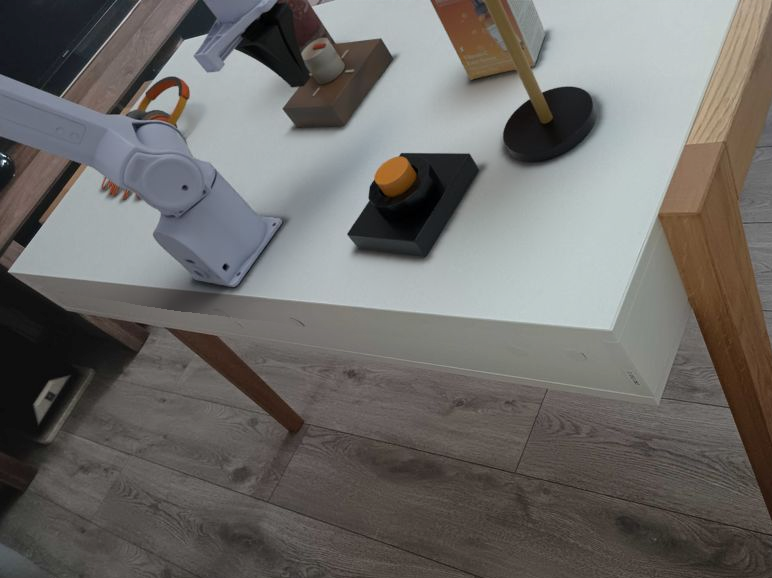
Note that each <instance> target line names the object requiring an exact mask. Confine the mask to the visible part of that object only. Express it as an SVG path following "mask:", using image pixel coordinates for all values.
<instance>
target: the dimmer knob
mask: <svg viewBox="0 0 772 578" xmlns="http://www.w3.org/2000/svg"><path fill="white" fill-rule="evenodd" d="M301 55H302V57H303V60H304V63H305V65H306V67H307V68H308V69H309V71H310V72H311V74H312V75H313V77H314V78H315V79H316V81H317V82H318V83H319V84H326V83H329V82H331V81H332V80H334V79H335V78H337V77H338V76H339V75H340V74H341V73H342V71H343V70H344V67H345V64H344V62H343V61H342V59H341V58H340V56H339V55H338V53H337V52H336V50H335V49H334V47H333V46H332V44H331V43H330V41H329V40H328V39H327V38H320V39H317V40H315V41H313V42H312V43H310V44H309V45H308V46H307V47H306V48H305V49H304V50H303V51H302V53H301Z"/></svg>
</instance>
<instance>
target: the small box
mask: <svg viewBox="0 0 772 578" xmlns="http://www.w3.org/2000/svg"><path fill="white" fill-rule="evenodd" d="M429 1H430V3H431V5H432V7H433V8H434V11H435V13H436V15H437V17H438V19H439V21H440V24H441V25H442V27H443V29H444V31H445V32H446V35H447V37H448V39H449V41H450V43H451V45H452V47H453V49H454V51H455V52H456V55H457V57H458V59H459V61H460V62H461V65H462V66H463V69H464V70H465V72H466V74H467V76H468V79H469V80H471V81H472V80H476V79H479V78H484V77H488V76H491V75H492V76H493V75H496V74H502V73H506V72H510V71H517V70H516V68H515V66H514V64H513V62H512V60H511V57H510V55H509V53H508V51H507V49H506V47H505V45H504V43H503V40H502V38H501V36H500V34H499V32H498V30H497V28H496V26H495V23H494V21H493V19H492V17H491V15H490V13H489V11H488V8H487V6H486V4H485V2H484V0H429ZM500 1H501V3H502V6H503V8H504V10H505V12H506V14H507V17H508V19H509V21H510V23H511V25H512V28H513V30H514V32H515V34H516V37H517V39H518V41H519V43H520V45H521V48H522V50H523V52H524V54H525V56H526V59H527V61H528V63H529V65H530V67H531V68H532V67H535V65H536V63H537V60H538V58H539V57H538V56H539V53H540V50H541V49H542V45H543V42H544V39H545V36H546V30H545V28H544V25H543V23H542V21H541V18H540V15H539V13H538V10H537V8H536V5H535V3H534V1H533V0H500Z"/></svg>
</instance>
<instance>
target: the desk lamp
mask: <svg viewBox="0 0 772 578" xmlns="http://www.w3.org/2000/svg"><path fill="white" fill-rule="evenodd" d="M484 2H485V4H486V6H487V8H488V11H489V13H490V15H491V17H492V19H493V21H494V23H495V26H496V28H497V30H498V32H499V34H500V36H501V38H502V40H503V43H504V45H505V47H506V49H507V51H508V53H509V55H510V57H511V60H512V62H513V64H514V66H515V68H516V70H515V71H516V72H517V74H518V76H519V79H520V81H521V84H522V85H523V87H524V89H525V91H526V94H527V95H528V98H529V99H527V100H526V101H525V102H524V103H522V104H520V106H519V107H517V109H516V110H515V111H513V112H512V114H511V115H510V117H509V118H508V120H507V121H506V123H505V126H504V127H503V132H502V139H503V143H504V145H505V147H506V149H507V150H508V153H509V154H510V155H511V157H513V158H514V159H516V160H517V161H519V162H523V163H531V164H534V163H543V162H547V161H550V160H553V159H556V158H559V157H560V156H563V155H564V154H567V153H568V152H570V151H572V150H573V149H575V148H576V147H577V146H579V144H581V143H582V142H583V141H584V140H585V139H586V137H588V135H589V134H590V133H591V131H592V129H593V128H594V126H595V125H596V120H597V116H598V115H597V114H598V113H597V107H596V105H595V102H594V100H593V97H592V96H591V95H590V93H589V92H588V91H586V90H585V89H583V88H581V87H577V86H571V85H569V86H568V85H567V86H559V87H558V86H557V87H554V88H551V89H550V88H549V89H547V90H544V91H542V89H541V88H540V87H541V86H540V85H539V83H538V81H537V79H536V77H535V74H534V72H533V69H532V67H530V65H529V63H528V61H527V59H526V56H525V54H524V52H523V50H522V48H521V45H520V43H519V41H518V39H517V37H516V34H515V32H514V30H513V28H512V25H511V23H510V21H509V19H508V17H507V14H506V12H505V10H504V8H503V6H502V3H501V1H500V0H484Z"/></svg>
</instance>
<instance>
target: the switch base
mask: <svg viewBox="0 0 772 578" xmlns="http://www.w3.org/2000/svg"><path fill="white" fill-rule="evenodd" d="M398 157H405V158H406V159H407V160H408V162H409V163H410V165H411V166H412V168H413V169H414V171H415V172H416V174H417V178H416V180H415V182H414V183H413V185H412V186H411V187H410V188H408V189H407V190H406V191H405V192H403V193H402V194H400V195H397V196H394V197H387V196H386V195H385V194H384V193H383V192H382V190H381V189H380V187H379V186H378V185H377V183H376V182H375V179H373V180H372V182H371V184H369V189H368V202H367V203H366V204H365V206H364V208H363V209H362V211H361V212H360V213H359V215H358V216H357V218H356V220H355V222H354V223H353V224H352V226H351V227H350V229H349V230H348V232H347V233H346V235H347V237H348V238H349V239H350V240H351V242H352V243H353V244H354V245H355V246H356V247H357V249H359V250H367V251H374V252H384V253H391V254H400V255H409V256H417V257H427V256H428V255H429V253H430V252H431V249H432V248H433V246H434V245H435V243H436V241H437V240H438V238H439V237H440V236H441V234H442V232H443V230H444V228H445V226H446V225H447V223H448V222H449V220H450V218H451V217H452V215H453V213H454V212H455V210H456V208H457V207H458V206H459V204H460V202H461V200H462V199H463V197H464V196H465V194H466V192H467V191H468V189H469V187H470V185H472V182H473V181H474V180H475V177H476V176H477V174H478V173H479V171H480V168H479V166H478V165H477V163H476V162H475V160H474V157H473V156H472V155H471V153H469V152H468V153H466V152H465V153H461V152H459V153H458V152H456V153H455V152H454V153H453V152H441V153H440V152H401V153H400V154H399V156H398Z"/></svg>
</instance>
